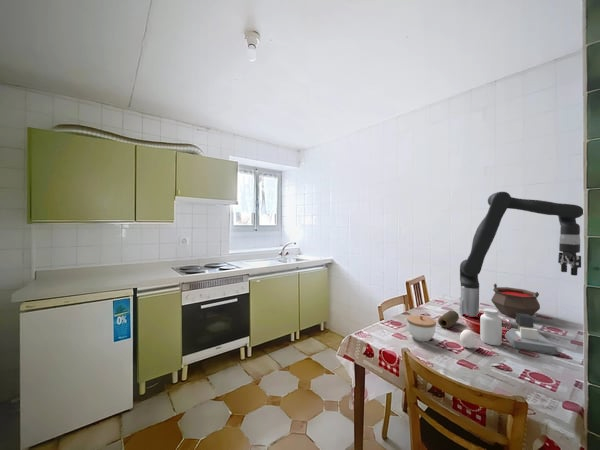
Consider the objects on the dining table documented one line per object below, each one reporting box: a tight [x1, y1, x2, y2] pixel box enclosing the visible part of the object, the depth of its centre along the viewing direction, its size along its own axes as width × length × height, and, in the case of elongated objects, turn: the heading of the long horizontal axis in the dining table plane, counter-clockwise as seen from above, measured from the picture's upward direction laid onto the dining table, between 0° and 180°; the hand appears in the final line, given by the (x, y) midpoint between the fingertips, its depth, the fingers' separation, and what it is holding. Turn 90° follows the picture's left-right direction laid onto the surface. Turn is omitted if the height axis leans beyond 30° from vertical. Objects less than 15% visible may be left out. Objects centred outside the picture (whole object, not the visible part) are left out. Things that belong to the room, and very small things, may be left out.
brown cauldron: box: [490, 283, 541, 318], centre depth 153 cm, size 24×24×16 cm
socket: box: [502, 326, 557, 355], centre depth 117 cm, size 14×16×4 cm
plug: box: [515, 313, 534, 329], centre depth 130 cm, size 5×5×8 cm
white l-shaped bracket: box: [516, 327, 539, 340], centre depth 117 cm, size 6×6×4 cm
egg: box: [459, 329, 478, 349], centre depth 113 cm, size 6×6×8 cm
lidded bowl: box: [406, 314, 437, 343], centre depth 122 cm, size 13×13×11 cm
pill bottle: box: [479, 308, 503, 346], centre depth 118 cm, size 8×8×15 cm
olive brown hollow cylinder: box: [437, 309, 460, 328], centre depth 137 cm, size 15×7×7 cm, turn 134°
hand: (568, 273), depth 133 cm, fingers open, 8 cm apart
